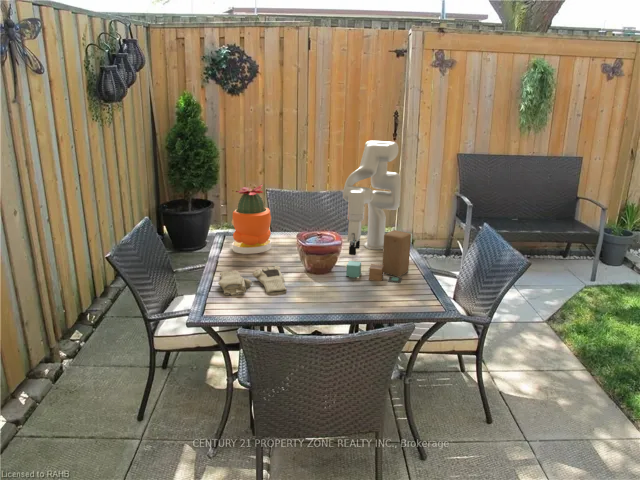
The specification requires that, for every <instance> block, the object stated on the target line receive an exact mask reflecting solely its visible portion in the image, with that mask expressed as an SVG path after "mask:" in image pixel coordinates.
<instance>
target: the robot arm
mask: <svg viewBox="0 0 640 480" xmlns="http://www.w3.org/2000/svg"><path fill="white" fill-rule="evenodd" d="M399 151H400V149H399V144H398V143H397V142H396V141H384V140H368V141H366V142H365V144H364V149H363V152H362V156H361V160H360V163H359V167H358V168H357V169H356V170H354V171H352V172H351V173H350V174H349V175H348V177H347V178H346V179H345V180H346V181H345V183H344V188H343V191H342V198H343V200H344V201H345V202H348V204H347V221H348V227H347V228H348V229H347V240H346V241H347V242H349V246H348V255H349V256H350V255H351V256H356V255H357V250H359V249H360V247H361V246H360V245H361V244H360V243H361V242H360V240H361V234H362V222H363V221H364V219H365V205H366V204H367V206H368V207H367V211H368V213H367V215H368V216H367V220H368V221H367V238H366V239H367V240H366V241H365V242H364V244H363V247H364V248H366V249H368V250H374V251H376V250H377V251H379V250H383V245H384V235H385V234H386V219H387V218H386V217H387V216H386V213H385V211H384V210H393V211H395V210H398V209H399V208H400V202H401V191H402V190H401V186H402V185H401V184H402V179H401V178H402V177H401V175H400V174H399V173H398V172H396V171H394V172H393V171H388V163H390V162H392V161H393V160H395V159H396V158H397V157H398V155H399ZM369 178H370V184H371V187H372V188H373V189H376V190H373V189H371V188H370V187H367V186H357V185H355V184H357V183H358V182H360V181H363V180H367V179H369ZM377 189H378V190H377ZM384 190H385V191H384ZM387 190H388V191H387Z"/></svg>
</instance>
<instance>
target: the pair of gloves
mask: <svg viewBox="0 0 640 480" xmlns="http://www.w3.org/2000/svg"><path fill="white" fill-rule="evenodd" d="M281 269H282V268H281V265H275V266H272V265H267V267H266V268H261V269H256V270H254V272H253V273H252V275H253V277H254V278H256V279H257V281H259V282H260V284H261V285H263V287H264V289H265V292H266V294H267V295H275V294H284V293H287V292H288V290H287V287H286V286H285V278H284V276H283V274H282V272H281ZM219 275H220V278H221V279H220V280H219V281H218V286H219V287H221V288H222V291H223V295H225V296H229V295H231V296H232V297H236V296H238V295H242V294H244V293H247V288H250V287H251V285H252V284H253V282H252V280H251V279H249V278H245V277H243V276H242V275H241V274H240V271H238V270H233V271H230V270H229V271H228V270H226V271H224V270H223V271H221V272H219Z"/></svg>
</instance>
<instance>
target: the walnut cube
mask: <svg viewBox="0 0 640 480" xmlns="http://www.w3.org/2000/svg"><path fill="white" fill-rule="evenodd" d="M383 270H384V265H382V264H379V263H378V264H376V263H370V266H369V268H368V280H369V281H377V282H382V280H383V278H384V273H383Z"/></svg>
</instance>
